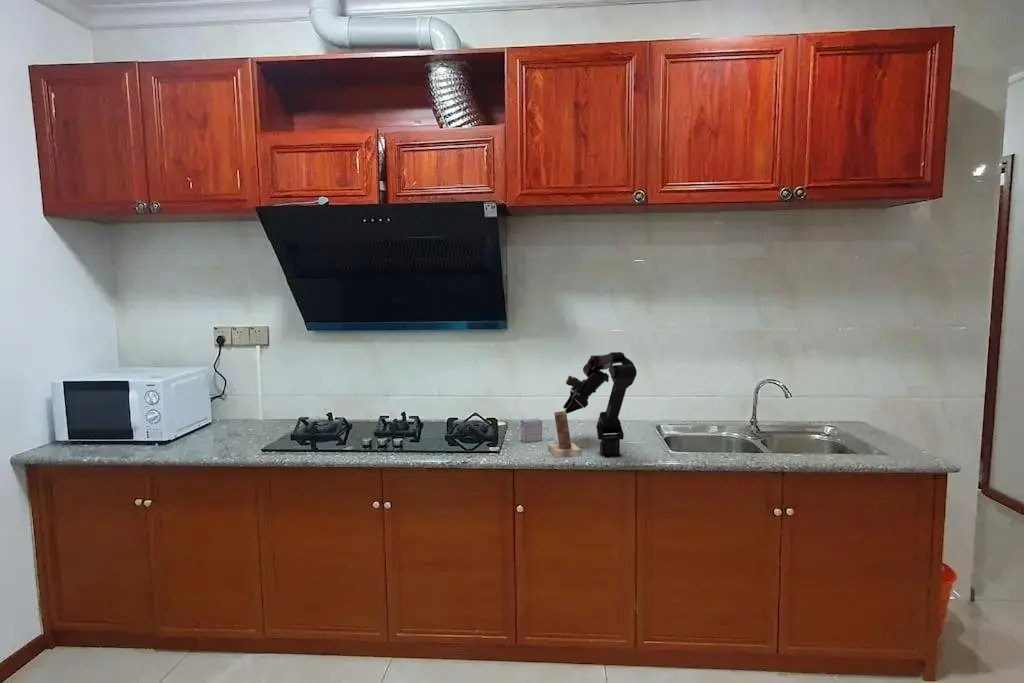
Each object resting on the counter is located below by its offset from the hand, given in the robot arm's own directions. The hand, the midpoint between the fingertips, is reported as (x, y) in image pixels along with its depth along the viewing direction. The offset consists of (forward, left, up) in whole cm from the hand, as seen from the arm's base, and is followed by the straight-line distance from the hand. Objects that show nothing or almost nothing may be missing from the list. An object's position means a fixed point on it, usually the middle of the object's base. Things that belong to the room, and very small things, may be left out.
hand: (564, 410), depth 240 cm
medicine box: (+12, -8, -14) cm, 20 cm away
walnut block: (+4, +13, -11) cm, 17 cm away
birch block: (+4, +12, -14) cm, 19 cm away
